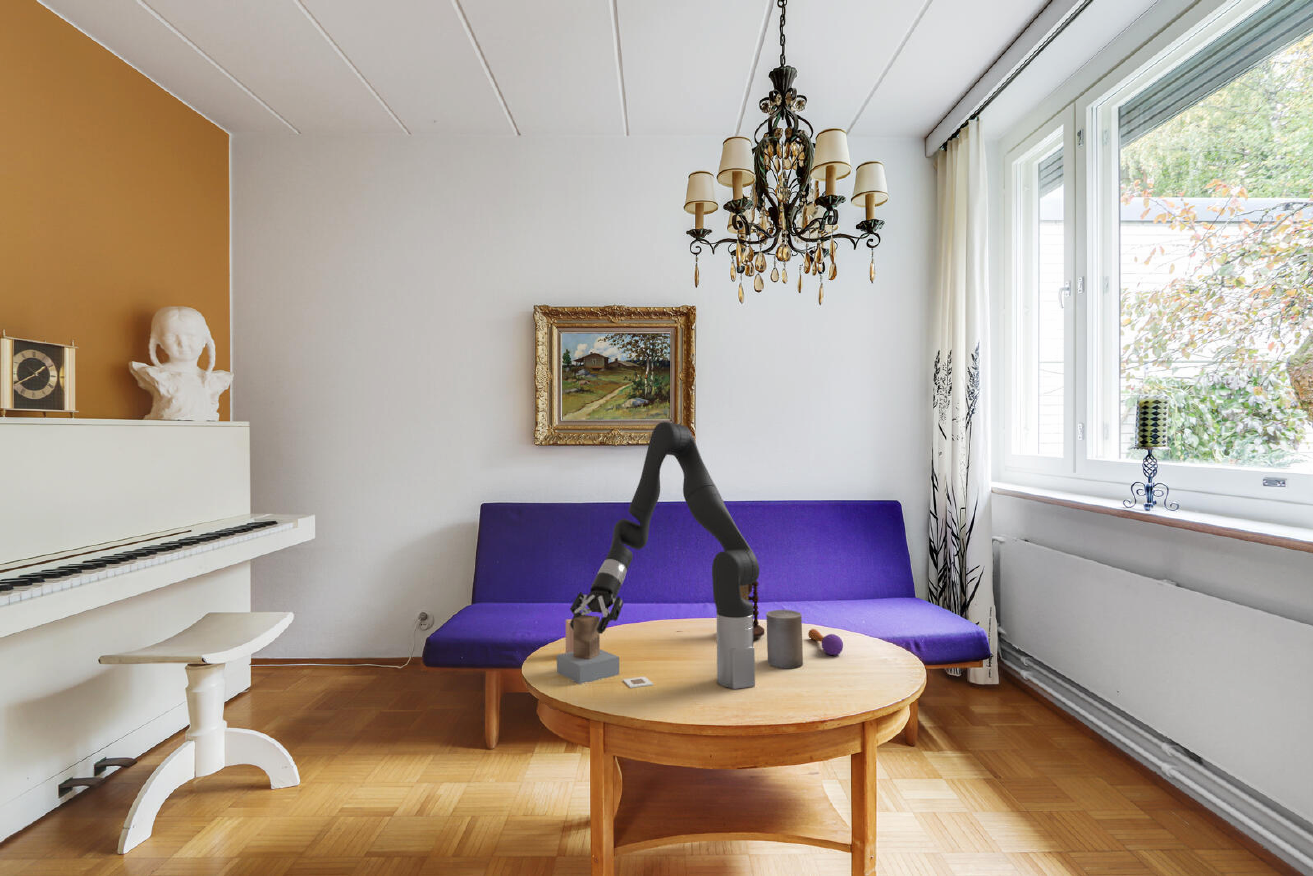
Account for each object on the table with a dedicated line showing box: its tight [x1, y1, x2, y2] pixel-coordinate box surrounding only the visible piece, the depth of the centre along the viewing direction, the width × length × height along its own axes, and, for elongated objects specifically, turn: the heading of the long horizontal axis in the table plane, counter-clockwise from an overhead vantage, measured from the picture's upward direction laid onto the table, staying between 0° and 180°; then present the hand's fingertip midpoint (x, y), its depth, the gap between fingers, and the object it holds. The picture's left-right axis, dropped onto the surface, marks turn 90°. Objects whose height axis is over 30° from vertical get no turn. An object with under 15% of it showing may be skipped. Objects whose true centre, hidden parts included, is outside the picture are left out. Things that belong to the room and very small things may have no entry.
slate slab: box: [556, 648, 620, 685], centre depth 171 cm, size 12×12×5 cm
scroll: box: [740, 580, 765, 642], centre depth 207 cm, size 15×15×20 cm
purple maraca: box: [807, 628, 844, 656], centre depth 194 cm, size 6×6×20 cm
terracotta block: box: [565, 618, 574, 653], centre depth 188 cm, size 5×5×10 cm
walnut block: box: [573, 614, 601, 660], centre depth 172 cm, size 5×5×10 cm
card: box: [622, 676, 654, 689], centre depth 164 cm, size 6×6×1 cm
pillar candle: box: [765, 608, 804, 669], centre depth 179 cm, size 10×10×15 cm
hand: (585, 630), depth 171 cm, fingers open, 8 cm apart
